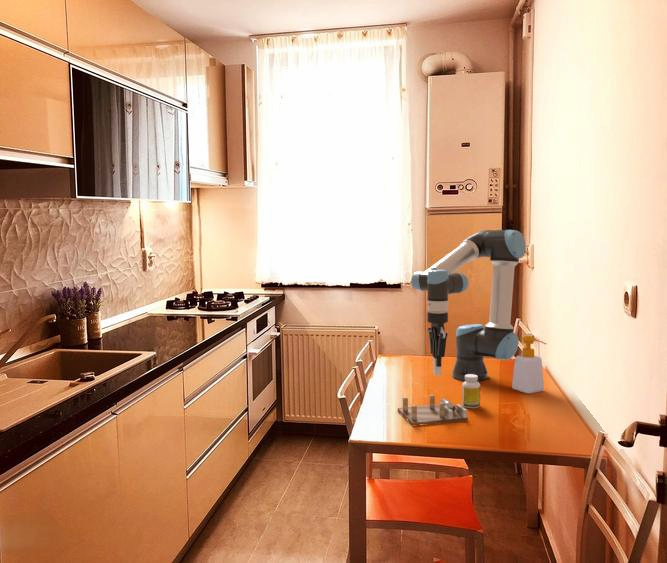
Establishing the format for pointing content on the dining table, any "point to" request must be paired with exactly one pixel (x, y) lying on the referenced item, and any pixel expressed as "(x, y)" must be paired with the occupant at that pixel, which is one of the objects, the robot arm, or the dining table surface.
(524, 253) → the robot arm
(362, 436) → the dining table surface
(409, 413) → the board
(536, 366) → the soap bottle
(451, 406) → the pin
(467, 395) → the pill bottle
